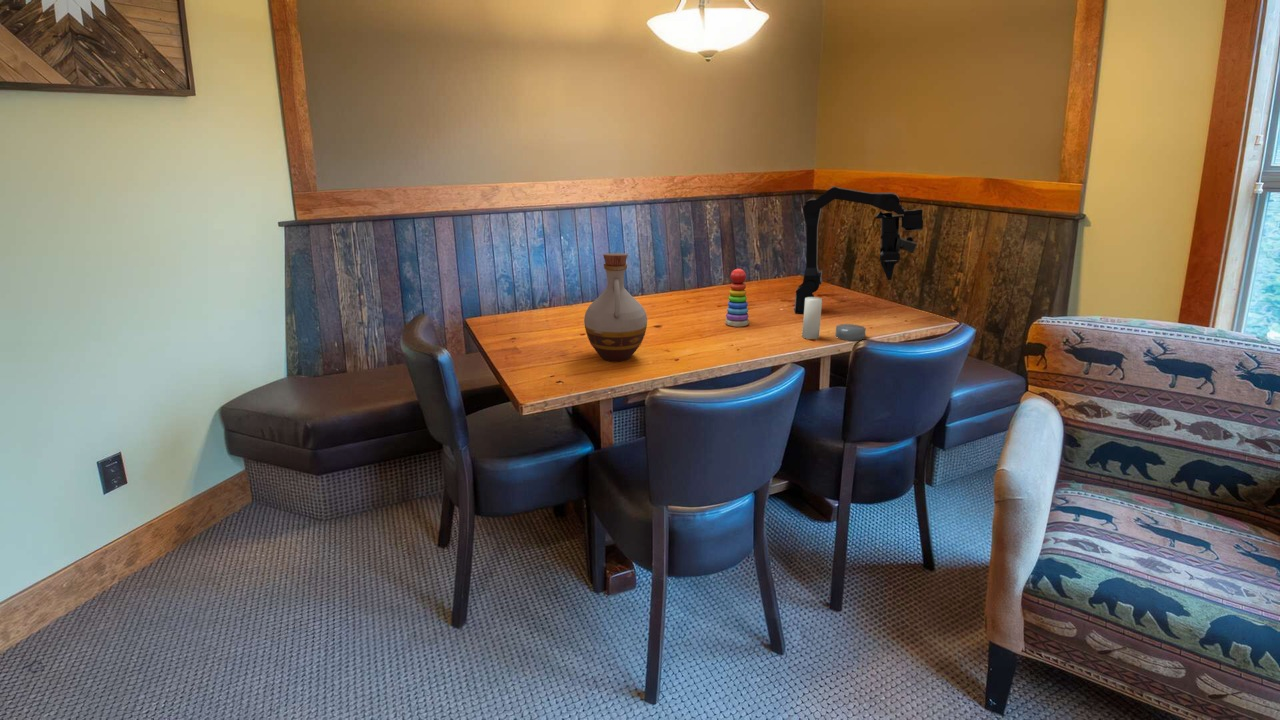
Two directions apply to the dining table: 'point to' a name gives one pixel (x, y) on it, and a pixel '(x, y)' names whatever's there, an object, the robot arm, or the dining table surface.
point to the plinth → (850, 332)
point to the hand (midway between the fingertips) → (889, 277)
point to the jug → (615, 315)
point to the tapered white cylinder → (812, 317)
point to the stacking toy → (737, 300)
